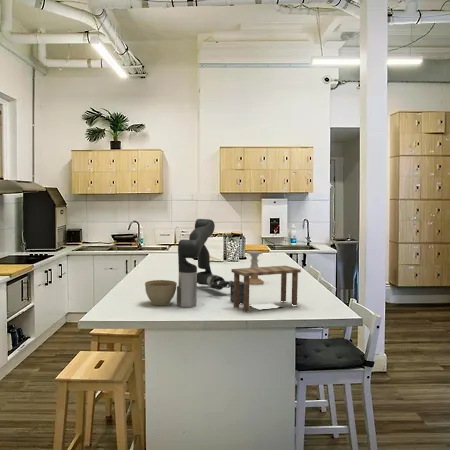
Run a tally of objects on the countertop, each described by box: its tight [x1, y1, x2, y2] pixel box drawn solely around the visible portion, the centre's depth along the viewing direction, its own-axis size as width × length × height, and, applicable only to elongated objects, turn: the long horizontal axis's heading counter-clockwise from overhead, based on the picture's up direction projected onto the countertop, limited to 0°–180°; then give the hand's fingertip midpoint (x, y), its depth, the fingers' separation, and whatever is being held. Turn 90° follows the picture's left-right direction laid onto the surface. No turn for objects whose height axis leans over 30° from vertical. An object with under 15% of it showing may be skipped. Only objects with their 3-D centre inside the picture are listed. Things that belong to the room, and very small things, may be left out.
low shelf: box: [231, 265, 302, 313], centre depth 254 cm, size 32×14×19 cm, turn 117°
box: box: [229, 280, 244, 305], centre depth 264 cm, size 8×6×11 cm
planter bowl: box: [144, 279, 178, 306], centre depth 258 cm, size 16×16×11 cm
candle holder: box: [246, 250, 265, 285], centre depth 318 cm, size 12×12×20 cm
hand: (228, 287), depth 273 cm, fingers open, 8 cm apart
